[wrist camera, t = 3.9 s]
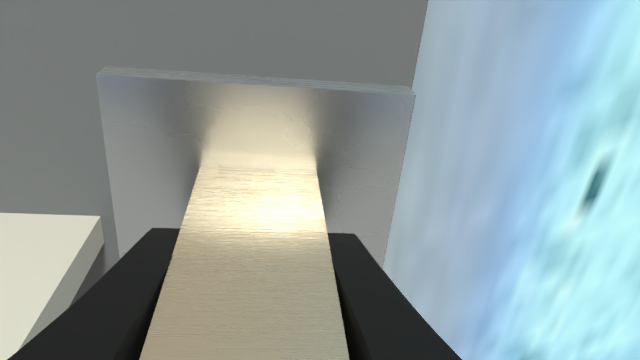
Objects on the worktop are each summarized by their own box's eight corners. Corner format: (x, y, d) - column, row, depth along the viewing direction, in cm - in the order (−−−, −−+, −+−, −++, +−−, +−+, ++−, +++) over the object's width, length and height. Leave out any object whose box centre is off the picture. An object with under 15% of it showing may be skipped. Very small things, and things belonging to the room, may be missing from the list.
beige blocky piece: (134, 303, 12) (33, 571, 7) (105, 65, 9) (-98, 229, 4) (367, 305, 12) (429, 549, 8) (408, 86, 10) (545, 246, 5)
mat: (-76, 380, 21) (-83, 390, 21) (-306, -145, 12) (-328, -148, 12) (353, 377, 24) (355, 386, 23) (435, -65, 14) (440, -65, 14)
